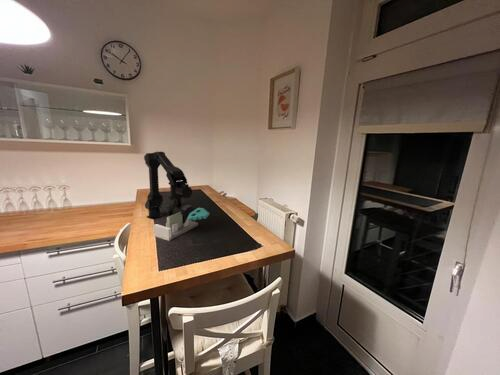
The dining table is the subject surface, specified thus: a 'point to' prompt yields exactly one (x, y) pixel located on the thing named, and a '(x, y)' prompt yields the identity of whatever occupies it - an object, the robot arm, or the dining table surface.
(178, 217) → the cabinet door
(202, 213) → the alien figure
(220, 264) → the dining table surface
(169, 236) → the hinge base
